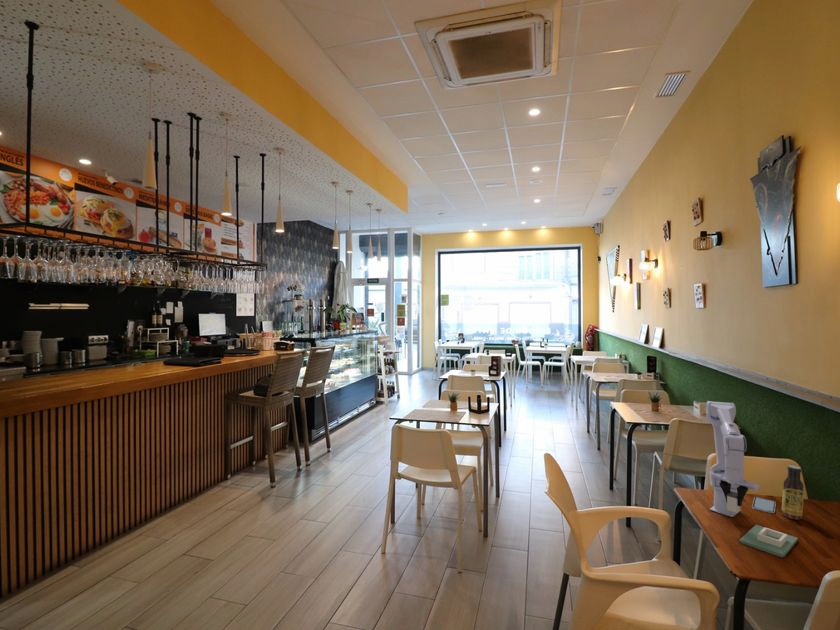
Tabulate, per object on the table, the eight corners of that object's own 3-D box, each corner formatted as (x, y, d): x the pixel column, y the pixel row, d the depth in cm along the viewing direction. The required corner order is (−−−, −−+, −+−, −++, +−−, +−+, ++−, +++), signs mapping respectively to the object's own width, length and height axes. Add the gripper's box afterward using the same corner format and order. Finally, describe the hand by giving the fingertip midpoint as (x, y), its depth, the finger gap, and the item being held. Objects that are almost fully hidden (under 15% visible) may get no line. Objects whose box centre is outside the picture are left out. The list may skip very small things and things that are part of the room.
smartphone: (776, 501, 185) (774, 512, 174) (776, 503, 185) (774, 515, 174) (754, 496, 190) (751, 506, 179) (754, 498, 190) (751, 509, 179)
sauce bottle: (783, 518, 170) (784, 467, 170) (779, 511, 176) (780, 462, 176) (805, 522, 167) (806, 470, 167) (800, 515, 173) (801, 465, 173)
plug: (730, 506, 165) (730, 491, 165) (740, 509, 162) (740, 493, 162) (726, 509, 162) (727, 493, 162) (736, 512, 160) (736, 496, 160)
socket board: (755, 527, 163) (756, 519, 163) (797, 540, 153) (797, 532, 153) (739, 542, 152) (739, 533, 152) (783, 557, 142) (783, 548, 142)
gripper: (708, 464, 166) (707, 499, 166) (754, 475, 154) (754, 513, 154) (715, 460, 170) (714, 495, 170) (760, 471, 159) (760, 508, 159)
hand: (733, 503), depth 162 cm, fingers closed on plug, 3 cm apart
